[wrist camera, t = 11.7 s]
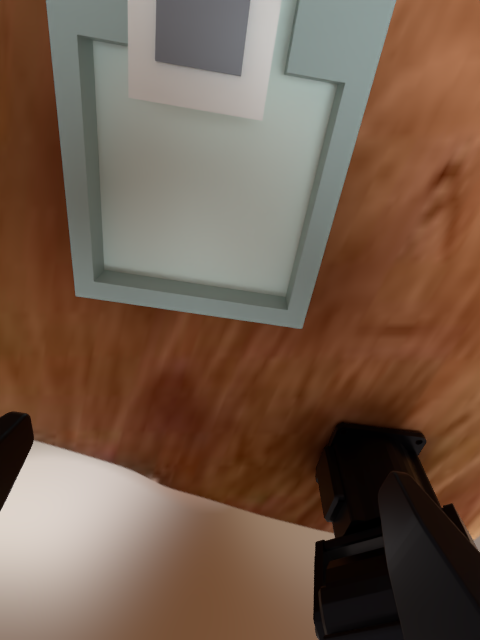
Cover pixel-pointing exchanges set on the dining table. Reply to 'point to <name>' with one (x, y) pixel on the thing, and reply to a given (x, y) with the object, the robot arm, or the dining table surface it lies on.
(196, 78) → the socket block
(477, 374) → the dining table surface
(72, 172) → the keyhole tray
